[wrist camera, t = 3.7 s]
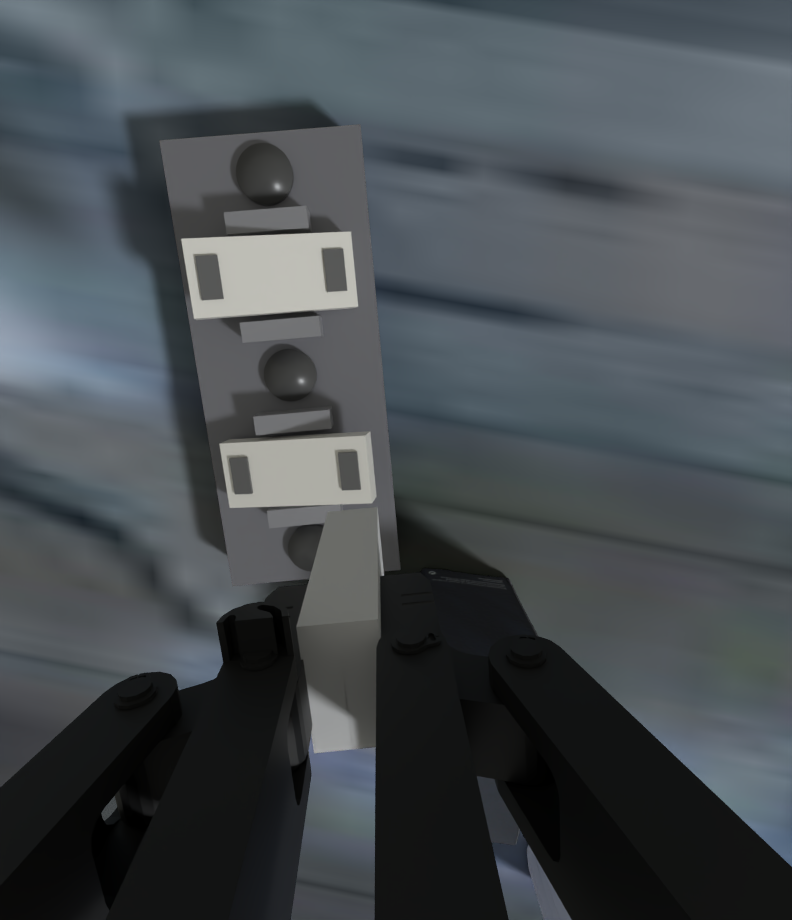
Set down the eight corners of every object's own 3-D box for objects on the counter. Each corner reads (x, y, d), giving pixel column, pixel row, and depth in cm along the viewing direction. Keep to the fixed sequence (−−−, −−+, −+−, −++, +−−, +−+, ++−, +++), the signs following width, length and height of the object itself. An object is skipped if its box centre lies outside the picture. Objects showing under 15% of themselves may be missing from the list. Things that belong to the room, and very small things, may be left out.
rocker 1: (196, 320, 27) (193, 318, 26) (184, 243, 26) (180, 237, 25) (354, 308, 29) (358, 306, 28) (347, 236, 28) (351, 230, 27)
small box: (415, 563, 36) (432, 653, 26) (511, 575, 36) (566, 668, 26) (391, 704, 38) (398, 839, 28) (482, 714, 38) (522, 850, 28)
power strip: (261, 675, 37) (246, 721, 32) (180, 159, 30) (146, 128, 25) (408, 660, 37) (413, 704, 33) (361, 145, 30) (359, 111, 26)
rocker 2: (239, 501, 31) (228, 508, 30) (229, 439, 30) (218, 444, 29) (376, 496, 30) (371, 504, 28) (370, 431, 29) (364, 436, 27)
